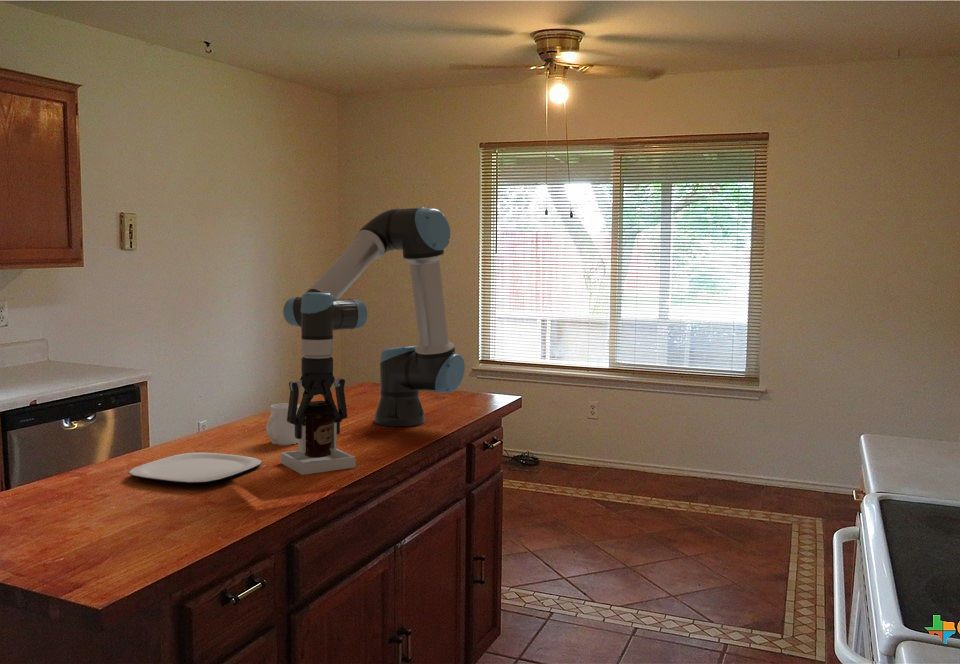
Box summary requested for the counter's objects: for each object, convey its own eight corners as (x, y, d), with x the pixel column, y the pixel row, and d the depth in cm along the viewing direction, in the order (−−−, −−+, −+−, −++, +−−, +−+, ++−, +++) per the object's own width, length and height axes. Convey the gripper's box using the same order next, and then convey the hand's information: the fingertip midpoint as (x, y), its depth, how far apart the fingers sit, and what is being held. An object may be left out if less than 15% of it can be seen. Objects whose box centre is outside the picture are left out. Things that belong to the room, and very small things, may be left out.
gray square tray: (331, 456, 210) (331, 446, 210) (355, 467, 199) (355, 456, 199) (280, 463, 202) (280, 452, 202) (302, 474, 191) (302, 463, 191)
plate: (206, 491, 178) (206, 483, 178) (114, 479, 187) (114, 472, 186) (274, 465, 202) (273, 458, 201) (189, 456, 210) (189, 449, 210)
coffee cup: (343, 453, 203) (342, 401, 202) (326, 461, 195) (324, 407, 194) (312, 450, 206) (310, 399, 205) (294, 458, 198) (292, 404, 197)
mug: (279, 450, 216) (279, 411, 216) (255, 446, 220) (254, 408, 219) (308, 441, 227) (307, 404, 226) (284, 438, 231) (284, 402, 230)
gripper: (348, 352, 207) (348, 442, 209) (271, 357, 196) (271, 451, 198) (362, 355, 201) (362, 447, 203) (282, 360, 190) (283, 457, 192)
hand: (317, 449), depth 200 cm, fingers closed on coffee cup, 7 cm apart
